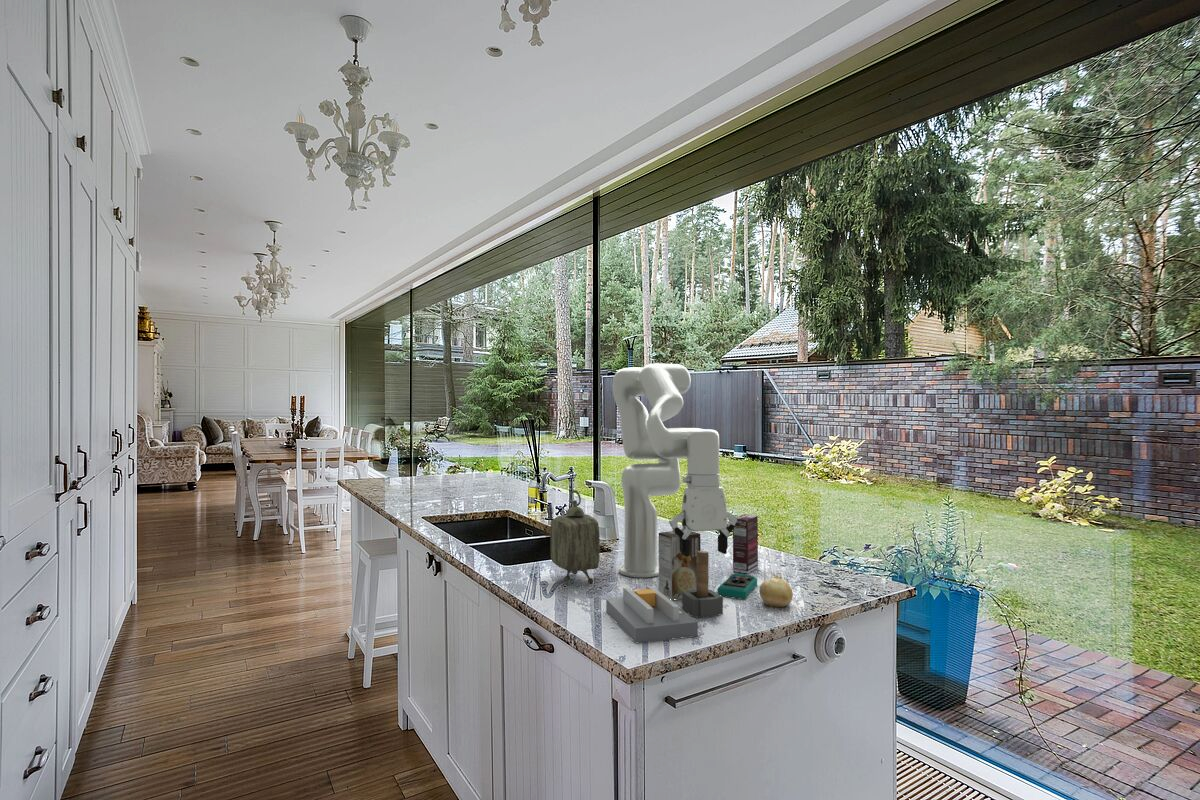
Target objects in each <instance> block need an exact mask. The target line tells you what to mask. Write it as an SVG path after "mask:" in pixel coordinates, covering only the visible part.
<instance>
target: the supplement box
mask: <svg viewBox="0 0 1200 800" xmlns="http://www.w3.org/2000/svg"><path fill="white" fill-rule="evenodd" d="M736 517H737V521H736V524H735V525H734V529H733V530H732V572H733V571H735V572H734V573H738V572H741V573H740V574H743V573H747V574H746V575H749V574H750V573H752V572H753V571H755V570H757V569H759V546H758V545H759V542H758V541H759V537H758V536H759V534H758V533H759V529H758V525H759V524H758V523H759V521H758V518H759V517H758V515H756V514H755V515H754V514H741V515H739V516H736ZM751 571H752V572H751Z"/></svg>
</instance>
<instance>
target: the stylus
mask: <svg viewBox="0 0 1200 800" xmlns="http://www.w3.org/2000/svg"><path fill="white" fill-rule="evenodd" d="M709 556H710V555H709V551H707V550H706V551H705V550H701V551H697V578H696V597H697V598H707V597H708V590H709V568H710V567H709V563H710V562H709V558H710V557H709Z"/></svg>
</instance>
